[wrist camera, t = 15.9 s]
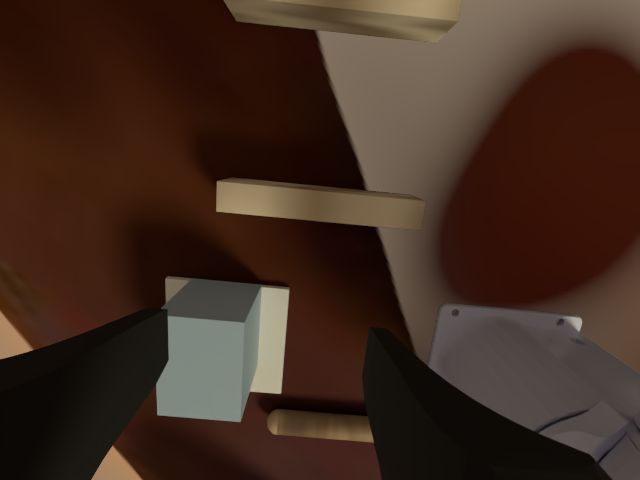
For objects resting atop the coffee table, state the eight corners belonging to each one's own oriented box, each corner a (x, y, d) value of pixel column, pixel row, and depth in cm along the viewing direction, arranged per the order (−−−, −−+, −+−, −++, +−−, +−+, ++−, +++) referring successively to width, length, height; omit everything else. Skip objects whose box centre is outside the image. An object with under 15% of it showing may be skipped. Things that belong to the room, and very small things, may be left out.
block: (257, 365, 23) (240, 421, 18) (192, 359, 23) (157, 415, 18) (261, 284, 21) (244, 322, 16) (192, 278, 21) (154, 314, 16)
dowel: (426, 415, 24) (433, 433, 23) (422, 433, 25) (429, 452, 23) (269, 403, 24) (266, 420, 22) (268, 421, 24) (264, 439, 23)
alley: (441, 9, 18) (465, -19, 15) (406, 220, 21) (421, 231, 18) (237, -13, 17) (221, -47, 15) (231, 203, 20) (216, 211, 17)
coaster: (289, 287, 22) (288, 289, 21) (281, 389, 24) (280, 393, 23) (168, 276, 22) (165, 278, 21) (170, 380, 23) (167, 384, 23)
